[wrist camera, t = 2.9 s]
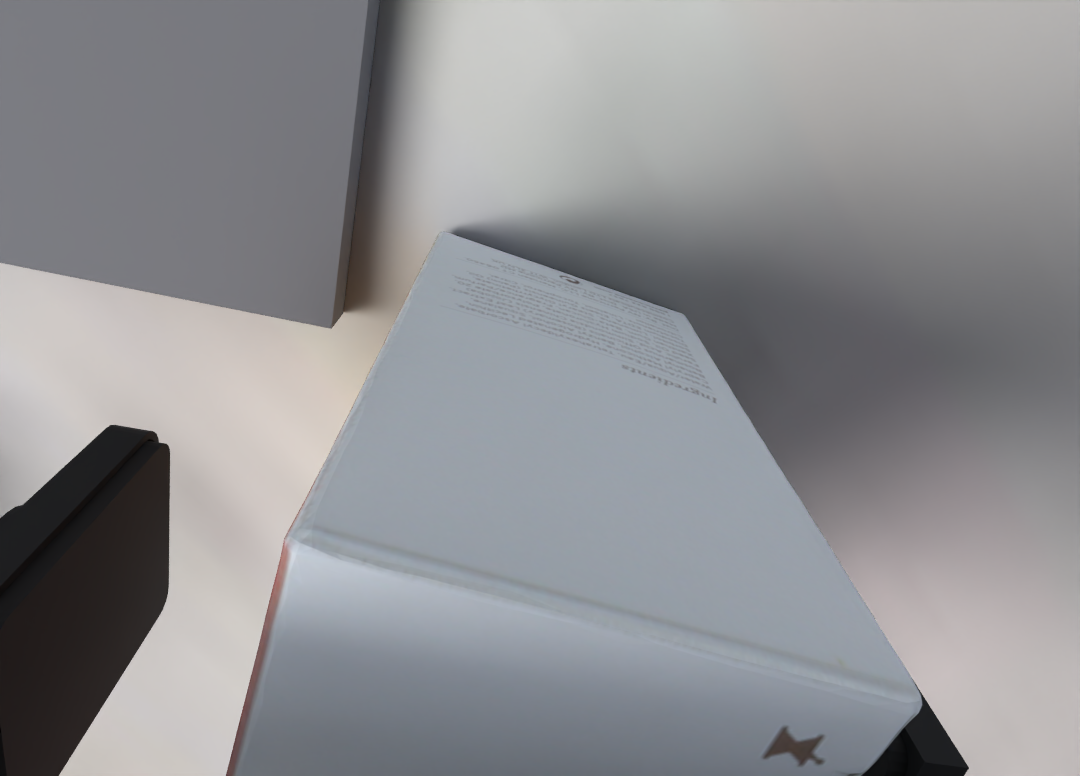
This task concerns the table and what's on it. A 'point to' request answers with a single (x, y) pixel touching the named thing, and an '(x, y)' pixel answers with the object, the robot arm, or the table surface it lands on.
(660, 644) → the small box
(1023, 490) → the table surface
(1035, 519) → the table surface
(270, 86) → the charcoal mat
